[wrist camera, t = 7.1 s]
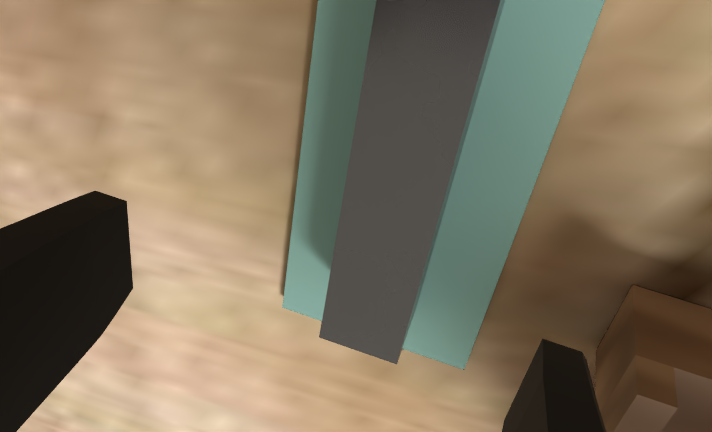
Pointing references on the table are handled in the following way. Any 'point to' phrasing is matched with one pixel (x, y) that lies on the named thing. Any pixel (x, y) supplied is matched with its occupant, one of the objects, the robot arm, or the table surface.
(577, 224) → the table surface
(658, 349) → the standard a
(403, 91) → the rail
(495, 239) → the mat
